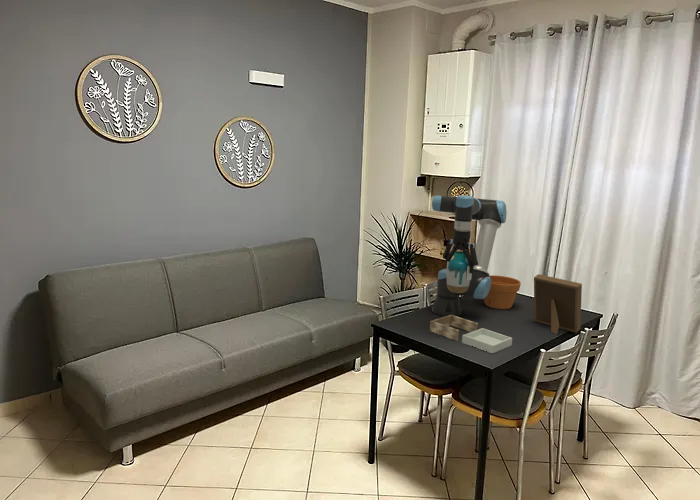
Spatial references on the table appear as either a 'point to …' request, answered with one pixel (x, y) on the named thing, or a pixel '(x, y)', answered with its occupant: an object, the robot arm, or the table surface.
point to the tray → (487, 340)
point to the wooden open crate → (443, 325)
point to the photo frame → (557, 303)
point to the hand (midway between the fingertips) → (458, 277)
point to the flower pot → (502, 292)
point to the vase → (458, 273)
